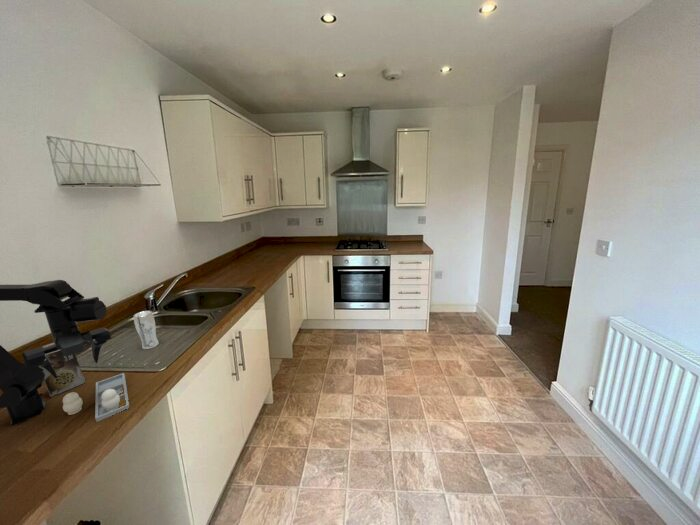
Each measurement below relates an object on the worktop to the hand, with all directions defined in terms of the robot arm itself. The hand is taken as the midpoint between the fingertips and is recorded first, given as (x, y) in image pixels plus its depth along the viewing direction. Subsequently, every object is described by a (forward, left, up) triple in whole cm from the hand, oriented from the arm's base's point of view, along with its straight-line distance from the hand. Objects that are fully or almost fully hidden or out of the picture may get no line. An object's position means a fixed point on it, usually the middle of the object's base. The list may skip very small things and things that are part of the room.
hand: (77, 370), depth 89 cm
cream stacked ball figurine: (-3, -2, -12) cm, 13 cm away
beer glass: (+20, +29, -12) cm, 37 cm away
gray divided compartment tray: (+6, -2, -12) cm, 14 cm away
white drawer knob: (+6, -9, -12) cm, 16 cm away
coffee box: (-6, +17, -12) cm, 22 cm away
